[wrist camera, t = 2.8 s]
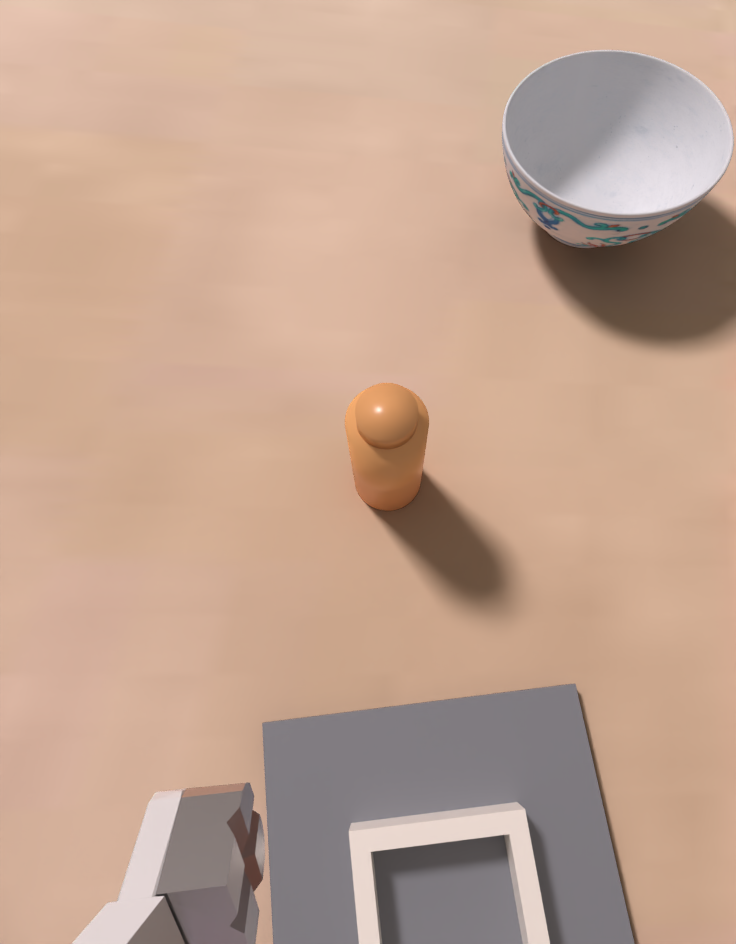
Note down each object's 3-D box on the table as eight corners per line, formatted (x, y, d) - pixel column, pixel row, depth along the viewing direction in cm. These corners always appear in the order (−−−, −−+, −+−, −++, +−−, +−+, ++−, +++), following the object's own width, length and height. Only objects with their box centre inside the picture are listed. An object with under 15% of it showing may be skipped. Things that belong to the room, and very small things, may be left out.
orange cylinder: (358, 514, 38) (347, 456, 29) (351, 452, 40) (339, 378, 30) (425, 506, 38) (436, 445, 29) (415, 444, 40) (423, 367, 30)
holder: (288, 1188, 27) (278, 1241, 25) (265, 722, 34) (254, 725, 32) (673, 1137, 27) (703, 1185, 25) (571, 684, 34) (586, 683, 32)
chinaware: (472, 277, 45) (487, 197, 37) (499, 133, 50) (518, 38, 42) (675, 308, 43) (733, 231, 36) (683, 156, 48) (734, 62, 41)
